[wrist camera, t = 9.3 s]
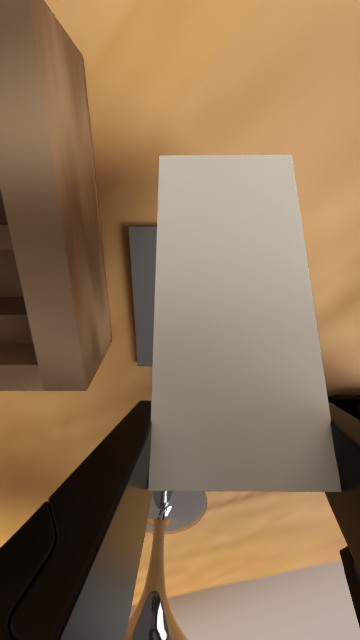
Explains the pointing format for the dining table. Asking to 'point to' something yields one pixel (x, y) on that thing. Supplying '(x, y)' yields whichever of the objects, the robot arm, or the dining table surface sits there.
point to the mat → (143, 288)
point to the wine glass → (153, 607)
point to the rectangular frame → (47, 210)
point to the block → (235, 333)
